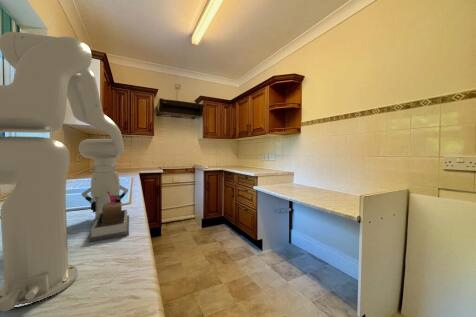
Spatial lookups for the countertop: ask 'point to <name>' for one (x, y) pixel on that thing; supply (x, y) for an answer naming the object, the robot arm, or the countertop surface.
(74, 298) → the countertop surface
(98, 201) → the supplement box
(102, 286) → the countertop surface
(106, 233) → the grey open tray
